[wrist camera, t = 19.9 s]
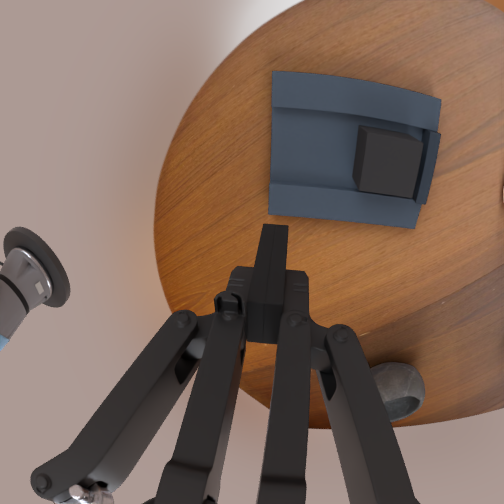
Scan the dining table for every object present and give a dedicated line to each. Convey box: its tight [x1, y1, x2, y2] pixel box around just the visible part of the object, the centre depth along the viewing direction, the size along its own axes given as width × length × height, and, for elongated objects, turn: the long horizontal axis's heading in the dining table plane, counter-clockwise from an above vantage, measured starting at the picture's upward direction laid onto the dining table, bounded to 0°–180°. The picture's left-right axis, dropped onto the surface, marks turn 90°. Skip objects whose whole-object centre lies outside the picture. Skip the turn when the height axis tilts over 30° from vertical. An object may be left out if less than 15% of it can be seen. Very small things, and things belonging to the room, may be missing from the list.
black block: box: [352, 125, 423, 198], centre depth 26 cm, size 6×6×4 cm
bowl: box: [370, 362, 425, 422], centre depth 47 cm, size 15×15×10 cm
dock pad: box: [268, 71, 441, 229], centre depth 28 cm, size 18×16×3 cm
